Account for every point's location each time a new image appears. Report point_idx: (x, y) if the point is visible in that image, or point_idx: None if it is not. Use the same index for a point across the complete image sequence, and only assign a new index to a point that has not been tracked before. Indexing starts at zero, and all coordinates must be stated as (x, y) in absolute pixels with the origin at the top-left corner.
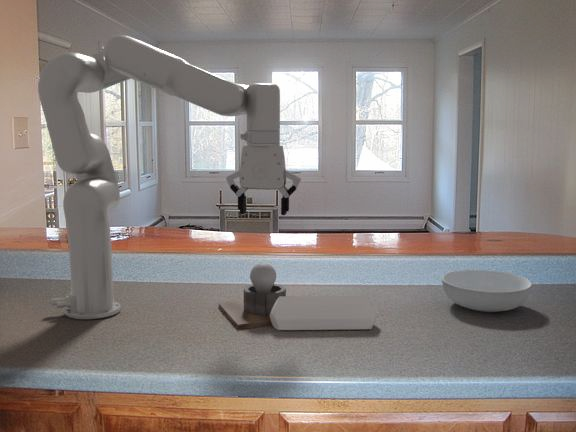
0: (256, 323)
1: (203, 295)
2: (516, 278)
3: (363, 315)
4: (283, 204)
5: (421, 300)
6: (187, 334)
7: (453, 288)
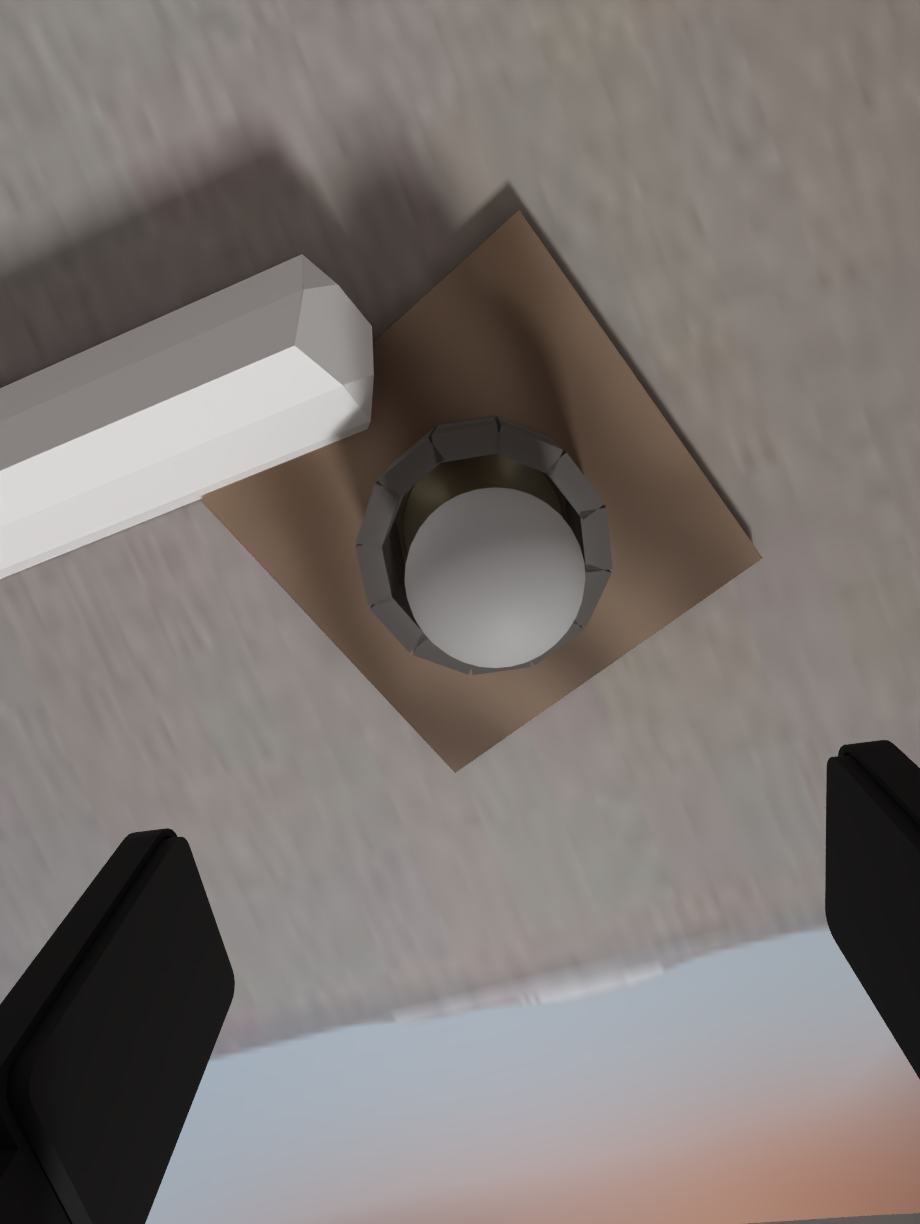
0: (436, 286)
1: (899, 715)
2: None
3: None
4: (46, 962)
5: None
6: (759, 9)
7: None
